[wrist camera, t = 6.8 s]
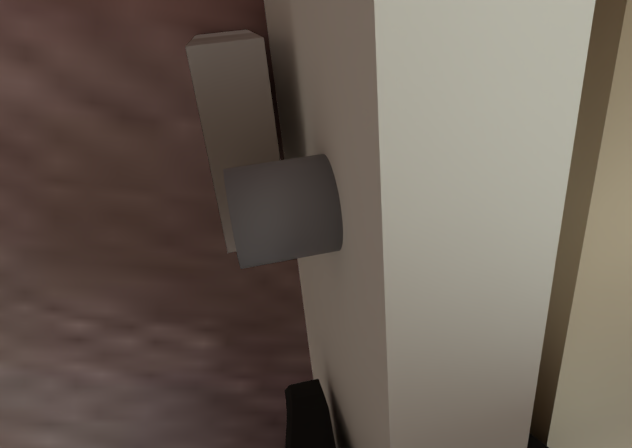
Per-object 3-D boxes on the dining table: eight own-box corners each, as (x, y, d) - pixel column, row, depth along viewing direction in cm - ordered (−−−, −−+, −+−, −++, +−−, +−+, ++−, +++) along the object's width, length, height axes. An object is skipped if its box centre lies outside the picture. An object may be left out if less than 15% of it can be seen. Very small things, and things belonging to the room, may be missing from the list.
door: (373, 493, 16) (473, 795, 10) (295, 514, 16) (349, 842, 10) (340, -16, 9) (607, -77, 3) (200, -1, 9) (169, -38, 3)
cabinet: (654, 461, 19) (814, 625, 14) (297, 560, 17) (333, 795, 12) (870, -180, 10) (1554, -381, 5) (162, -137, 8) (67, -410, 3)
